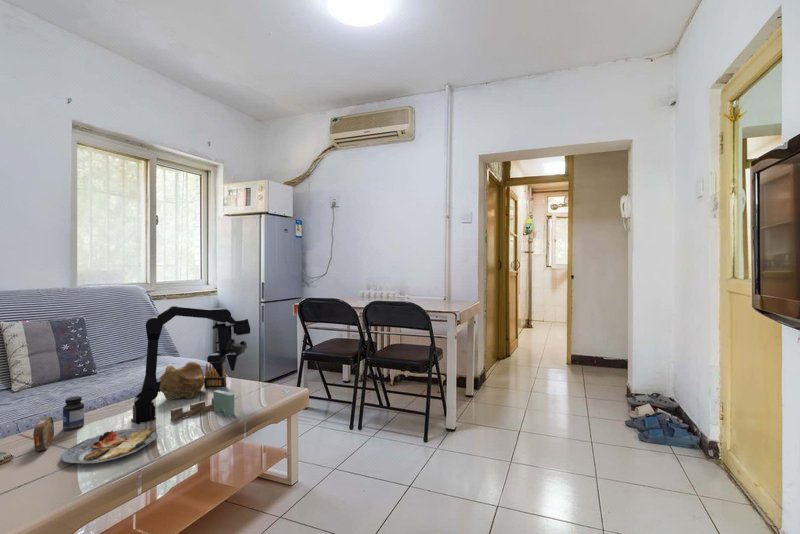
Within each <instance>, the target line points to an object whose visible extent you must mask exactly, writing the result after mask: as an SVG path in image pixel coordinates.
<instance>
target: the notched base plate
mask: <svg viewBox="0 0 800 534" xmlns="http://www.w3.org/2000/svg"><path fill="white" fill-rule="evenodd" d="M211 409H212V410H214V397H211V402H210V403H208V404H206V401H205V400H201V401H197V402H194V403H190V404H189V409H186V410H183V407H181V406H178V407H176V408H171V409H170V421H172V420H173V421H172V422H174V420H175V421H178V420H181V419H184V418H183V417H185V418H187V417H186V416H188V417H192V416H194V415H198V414H201V412H202V413H204V411H205V412H208V411H211ZM191 415H192V416H191ZM180 418H181V419H180ZM177 419H178V420H177Z"/></svg>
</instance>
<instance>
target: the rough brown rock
mask: <svg viewBox="0 0 800 534" xmlns="http://www.w3.org/2000/svg"><path fill="white" fill-rule="evenodd" d="M159 379H160V380H161V383H160V393H162V394H163V396H164V398H165V399H167V400H168V401H171V400H173V398H174V399H182V398H186V399H193V398H195V397H197V395H198V394H199V393H200V391H202V390H201V389H202V388H203V387H204V383H205V373H204V371H203V370H202V367H201V365H200V364H199V363H198V362H195V361H189V362H187V363H186V364H184V366H183V367H182V368H175V367H174V366H173V365H168V366H167V367H165V370H164V372H163V373H162V374H161V375H160V376H159Z"/></svg>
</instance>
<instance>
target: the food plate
mask: <svg viewBox="0 0 800 534" xmlns="http://www.w3.org/2000/svg"><path fill="white" fill-rule="evenodd" d="M158 436H159V435H158V433H157V432H156V431H155V430H154V428H153V427H149V428H128V429H127V428H125V429H120V430H110V431H106V432H103V434H99V435H96V436H95V437H91V438H87V439H85V440H82V441H81V442H79V443H78V444H75V445H73V446H71V447H70V448H68V449H66V450H64V451H63V452H62V453H61V454H60V455H59V459H60V460H61V461H63V462H66V463H69V464H81V465H83V464H97V463H98V464H99V463H103V462H113V461H115V460H116V459H120V458H123V457H125V456H128V455H131V454H134V453H136V452H138V451H139V450H141V449H143V448H145V447H147V445H149V444H151V443H153V441H155V440H156V439H158ZM83 455H84V457H83ZM81 457H83V458H82V459H83V460H81V459H80V458H81ZM97 459H98V460H97Z"/></svg>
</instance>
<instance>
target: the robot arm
mask: <svg viewBox="0 0 800 534" xmlns="http://www.w3.org/2000/svg"><path fill="white" fill-rule="evenodd" d="M175 317H185V318H188V317H189V318H199V319H200V318H201V319H207V320H212V321H216V322H214V324H213V325H212V326H211V329H212V330H214V329H215V330H216V339H217V340H216V341H215V344H216V345H217V350H216V351H215V352H216V353H211V354H209V355H208V356H207V357H206V359H207V360H206V362H207V363H209V364H211V367H212V366H213V367H214V368H215V370H216V371H217V373H218V374H219V376H220V377H223V364H224V365H225V363H226V362H227V361H228V365H229V369H230V370H231V371H232V372H234V371H235V369H236V366H237V365H236V364H237V360H238V358H239V356H241V355H242V354H245V350H246V349H247V348H248V346H247V341H245V340H242V341H240V342H236V339H235V338H233V335H235V336H245V335H250V334H251V325H250V323H249V318H244V319H238V320H236V319H235V318H233V317H232V313H231V311H230V310H229V309H226V308H225V307H223V308H222V307H221V308H196V307H185V306H177V305H171V306H169V308H168V309H166V310H164V311H163V312H161V313H159V314H158V315H156V316H151V317H149V318H148V319H147V320H146V321H145V331H146V337H147V348H146V362H145V373H144V374H145V375H144V378H143V382H142V385H141V389H140V392H139V393H138V394H136V396H134V400H133V404H134V405H132V418H131V420H130V421H131V422H133V423H135V424H136V425H137V424H139V425H140V424H142V423H146V422H150V421H153V420H156V419H157V417H156V405H155V403H154V400H155V399H156V398H158V395H159V393H161V391H160V383H161V380H160V378H157V369H158V368H157V367H158V366H157V365H158V364H157V363H158V351H159V342H160V341H159V340H160V337H161V334H162V329H163V327H164V325H166V324H167V323H168V322H170V321H171V320H172V319H173V318H175ZM217 322H219V323H217ZM226 323H228V324H226ZM232 334H233V335H232Z"/></svg>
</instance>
